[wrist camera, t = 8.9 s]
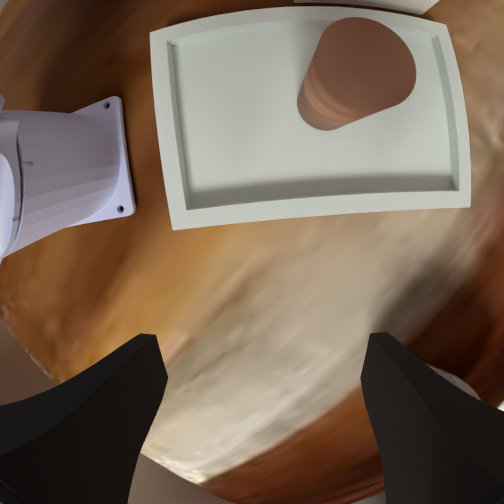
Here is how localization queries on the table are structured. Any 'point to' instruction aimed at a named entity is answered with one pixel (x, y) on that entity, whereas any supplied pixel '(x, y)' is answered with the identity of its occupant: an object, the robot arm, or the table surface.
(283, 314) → the table surface
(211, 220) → the tray
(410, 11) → the cup block
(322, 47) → the pin
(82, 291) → the table surface
